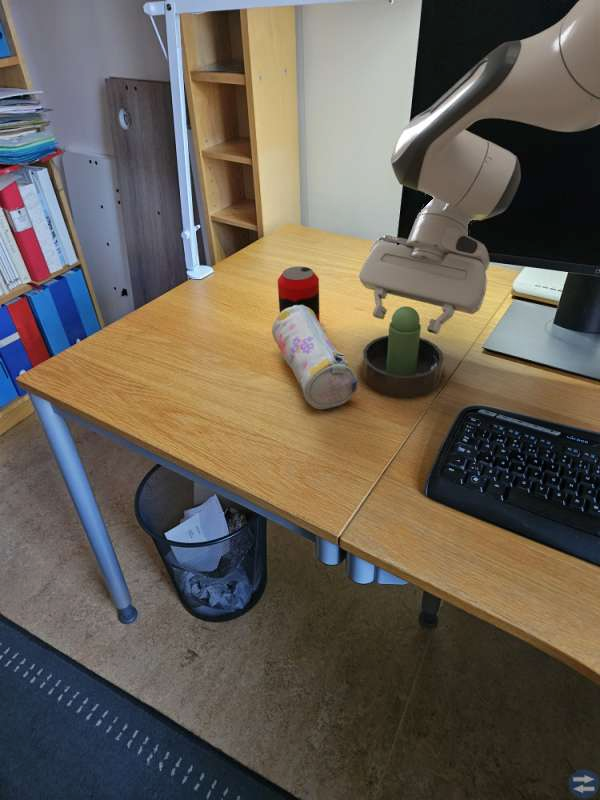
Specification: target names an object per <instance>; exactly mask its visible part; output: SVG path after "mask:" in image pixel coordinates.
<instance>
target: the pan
mask: <svg viewBox="0 0 600 800" xmlns="http://www.w3.org/2000/svg"><path fill="white" fill-rule="evenodd" d="M388 338H389V334H387V335H383V336H380V337H376V338H374V339H373V340H371V341H370V342H368V343H367V344H366V345H365V347H364V348H363V350H362V362H361V363H362V365H361V367H362V368H361V369H362V370H361V371H362V372H361V375H362V379H363V381H364V382H365V383H366V385H367V386H368V387H369V388H371V389H372V390H373V391H375V392H377V393H379V394H382V395H384V396H389V397H394V398H407V399H408V398H415V397H420V396H421V397H422V396H424V395H427V394H429V393H431V392H432V391H434V390H435V389H436V388H437V387H438V386H439V384H440V382H441V377H442V373H443V367H444V359H445V358H444V355H443V351H442V350H441V349H440V347H439V346H438V345H436V344H435V343H434V342H432V341H431V340H428V339H426V338H423V337H420V340H419V349H418V358H417V367H416V374H415V375H412V376H401V375H394V374H389V373H386V366H387V352H388Z"/></svg>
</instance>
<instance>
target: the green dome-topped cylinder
mask: <svg viewBox="0 0 600 800" xmlns="http://www.w3.org/2000/svg"><path fill="white" fill-rule="evenodd" d="M420 322H421V318H420V314H419V313H418V311H417V310H416V309H415V308H413V307H411V306H400V307H398V308H397V309H396V310H395V311H394V312H393V314H392V316H391V321H390V323H389V326H388V335H389V338H388V352H387V366H386V373H389V374H394V375H401V376H412V375H415V374H416V367H417V358H418V349H419V340H420V338H421V330H422V326H421V324H420Z"/></svg>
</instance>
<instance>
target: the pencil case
mask: <svg viewBox="0 0 600 800" xmlns="http://www.w3.org/2000/svg"><path fill="white" fill-rule="evenodd" d="M271 333H272V338H273V340H274V342H275V343H276V344H277V347H278V349H279V350H280V353H281V354H282V357H283V358H284V360H285V362H286V363H287V365H288V366H289V368H290V369H291V371H292V372H293V374H294V377H295V379H296V380H297V382H298V385H299V386H300V388H301V390H302V393H303V397H304V399H305V400H306V402H307V403H308V404H309V405H310V406H311V407H313V408H314V409H316V410H326V409H332V408H335V407H339V406H343V405H344V404H346V403H347V402H348V401H350V399H352V397H353V396H354V395H355V392H357V391H358V378H357V375H356V372H355V370H354V369H353V367H352V366H351V364H350V363H349V362H348V361H347V360H346V359H345V354H344V353H342V352H339V351H338V350H337V349H336V347H335V345H334V344H333V343H332V341H331V339H329V337H328V335H327V334H326V331H325V329H324V328H323V326H322V324H321V322H320V323H319V322H318V320H317V318H316V315H315V313H314V312H313V311H312V310H311V309H310V308H308V307H306V306H304V305H300V306H299V305H294V306H293V307H289V308H286V309H285V310H283V311H282V312H281V313H280V312H279V314H278V315H277V316H276V318H275V320H274V322H273V324H272V329H271Z"/></svg>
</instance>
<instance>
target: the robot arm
mask: <svg viewBox="0 0 600 800" xmlns="http://www.w3.org/2000/svg"><path fill="white" fill-rule="evenodd" d="M484 119H500V120H508V121H514V122H520V123H523V124H527V125H531V126H535V127H539V128H542V129H546V130H550V131H553V132H563V133H574V132H582V131H585V130H586V131H587V130H588V129H591V128H592V129H593V128H595V127H597V126H598V125H600V0H578V1H577V2H576V3H575V4H574V6H573V7H572V8H571V9H570V10H569V12H568V13H566V15H565V16H564V17H562V19H560V20H559V21H557V22H556V23H554V25H551V26H550V27H548V28H546V29H544V30H542V31H541V32H539V33H537V34H535V35H532V36H529V37H527V38H524V39H521V40H519V39H518V40H512V41H505V42H503V43H502V44H501V43H500V45H498V46H497V47H496V48H494V49H492V51H490V52H489V53H488V54H487V55H486V56H484V57H483V58H482V59H481V60H480V61H479V62H478V63H477V64H475V65H474V66H473V67H472V68H471V69H469V70H468V72H466V73H465V74H464V75H463V76H462V77H461V78H460V79H459V80H458V81H456V83H454V84H453V86H452V87H450V89H448V91H446V92H445V93H443V95H442V96H441V97H440V98H438V99H437V100H436V101H435V102H434V103H433V104H432V105H431V106H430V107H428V108H427V109H426V110H424V111H423V112H420V113H419V114H417V115H416V116H414V117H413V118H412V119H411V120H410V121H409V122H408V124H406V126H405V127H404V128H403V129H402V130H401V132H400V134H399V136H398V137H397V140H396V142H395V144H394V146H393V150H392V154H391V157H390V164H391V168H392V170H393V173H394V175H395V178H396V180H397V183H399V185H402V186H404V187H406V188H410V189H412V190H414V191H419V192H421V193H424V194H425V195H426V194H428V195H430V196H432V197H433V199H432V200H431V201H430V202H429V203H428V204H427V205H426V206H425V207H424V208H423V207H422V208H423V209H422V208H421V210H420V211H421V212H420V211H419V213H418V214H417V216H416V217H417V218H415V220H414V223H413V225H412V228H411V230H410V233H409V235H408V238H405V237H404V238H403V237H395V236H392V235H388V234H386V235H383V236H382V237H378V238H376V239H374V241H373V242H372V245H371V247H370V249H369V254H368V255H367V258H366V259H365V261H364V263H363V265H362V267H361V269H360V271H359V274H358V278H359V281H360V283H361V284H362V286H363V287H364V288H365V289H368V290H371V291H373V296H374V303H375V306H374V308H373V309H374V310H373V312H372V316H373V317H374V318H376V319H380V320H384V319H385V317H386V316H385V315H387V312H388V309H387V308H386V306H383V300H385V299H386V297H387V296H388V295H391V296H395V297H400V298H404V299H408V300H412V301H416V302H420V303H423V304H428V305H432V306H436V307H441V310H442V313H441V314H440V315H439V316H438V317H437V318H436V319H433V318H430V320H429V321H428V323H429V324H428V325H427V327H426V330H427V332H428V333H430V334H435V335H438V334H439V332H440V330H441V328H442V325H444V324H446V323H447V322H448V321H449V320H450V319H452V318H453V316H454V314H455V311H456V312H461V313H464V314H469V315H474V314H476V313H477V312H479V311H480V310H481V308H482V306H483V302H484V299H485V295H486V292H487V287H488V276H487V273H486V272H487V271H488V269H489V267H490V262H489V261H490V255H489V252H488V249H487V247H486V246H485V244H484V243H482V242H481V241H479V240H477V239H475V238H473V237H472V236H468V224H469V223H470V221H472V220H474V221H478V220H479V221H478V222H480V221H483V220H484V221H485V220H487V219H489V218H492V217H495V216H498V215H501V214H502V213H503V212H505V211H506V210H507V209H508V208H509V206H510V205H511V203H512V201H513V199H514V198H515V195H516V193H517V190H518V188H519V185H520V182H521V179H522V173H521V164H520V161H519V158H518V155H515V154H514V153H513V152H511V151H510V150H508V149H505V148H503V147H501V146H500V145H498V144H496V143H494V142H492V141H490V140H488V139H485V138H482V137H481V136H480V135H477V134H474V133H472V132H470V131H468V130H467V129H468V128H469V127H470V126H472V125H473V124H474V123H475V122H477V121H479V120H484ZM397 242H398V243H400V244H399V245H397ZM382 299H383V300H382Z"/></svg>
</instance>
